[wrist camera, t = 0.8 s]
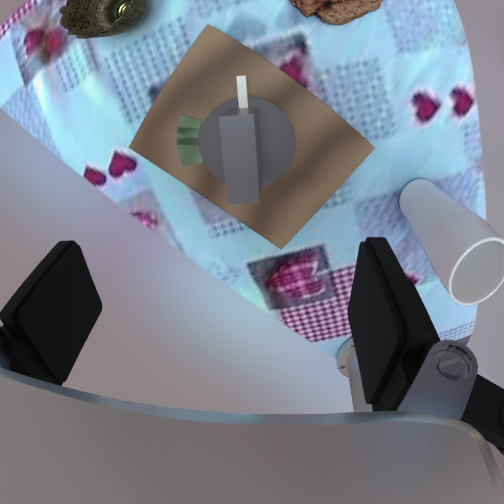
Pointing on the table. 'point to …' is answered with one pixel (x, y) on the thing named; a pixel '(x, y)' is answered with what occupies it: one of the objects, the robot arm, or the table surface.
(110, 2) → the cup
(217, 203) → the wooden board
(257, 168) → the tuning knob
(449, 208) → the drinking glass
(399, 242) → the table surface
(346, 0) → the cookie
